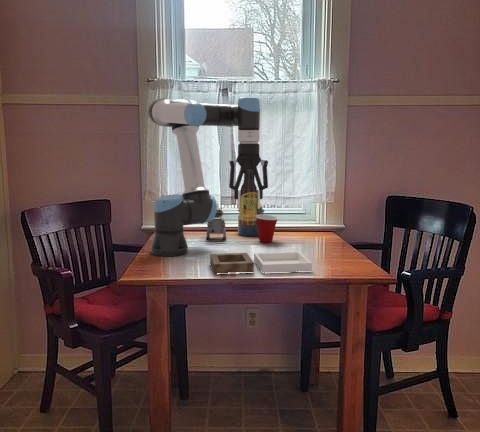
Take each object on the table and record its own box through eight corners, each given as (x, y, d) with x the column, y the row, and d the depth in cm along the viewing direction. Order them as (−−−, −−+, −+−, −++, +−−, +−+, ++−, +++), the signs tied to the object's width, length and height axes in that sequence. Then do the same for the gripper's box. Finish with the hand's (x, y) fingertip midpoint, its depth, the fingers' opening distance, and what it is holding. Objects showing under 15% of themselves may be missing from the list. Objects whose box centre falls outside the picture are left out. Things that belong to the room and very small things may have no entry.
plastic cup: (279, 244, 204) (280, 218, 202) (255, 244, 204) (256, 218, 201) (276, 238, 215) (276, 213, 213) (253, 239, 214) (253, 213, 212)
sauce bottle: (243, 226, 160) (242, 170, 157) (236, 223, 166) (236, 168, 163) (260, 225, 163) (260, 169, 159) (253, 222, 168) (253, 168, 165)
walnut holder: (214, 275, 159) (214, 264, 158) (210, 264, 173) (210, 253, 172) (253, 273, 161) (253, 262, 161) (246, 262, 175) (246, 252, 174)
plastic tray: (262, 274, 161) (262, 264, 160) (253, 261, 176) (254, 253, 176) (311, 272, 164) (312, 262, 163) (298, 260, 179) (299, 251, 179)
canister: (256, 238, 216) (257, 201, 213) (232, 234, 223) (233, 199, 219) (268, 233, 228) (269, 197, 224) (245, 230, 234) (246, 195, 231)
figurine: (226, 236, 220) (226, 205, 217) (225, 241, 209) (225, 209, 206) (207, 235, 220) (207, 204, 218) (205, 241, 209) (205, 208, 206)
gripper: (222, 143, 155) (222, 210, 158) (278, 143, 157) (277, 209, 161) (220, 142, 162) (220, 207, 166) (273, 142, 164) (272, 206, 168)
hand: (248, 208), depth 163 cm, fingers closed on sauce bottle, 6 cm apart
